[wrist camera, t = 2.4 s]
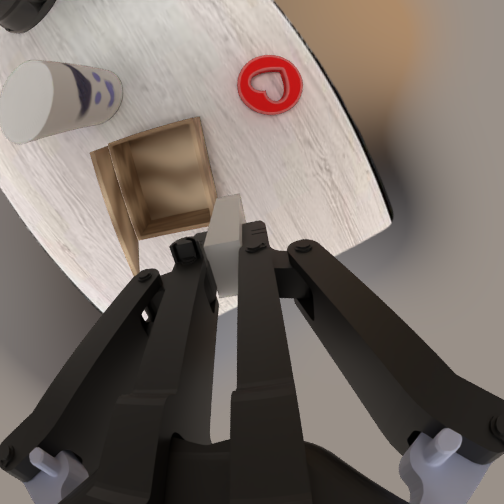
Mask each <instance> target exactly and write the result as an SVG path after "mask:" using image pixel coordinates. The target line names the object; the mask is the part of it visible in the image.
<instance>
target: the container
mask: <svg viewBox="0 0 504 504" xmlns="http://www.w3.org/2000/svg"><path fill="white" fill-rule="evenodd" d="M122 94H123V90H122V84H121V81H120V79H119V78H118V76H117V75H116V74H114V73H113V72H111V71H109V70H104V69H99V68H93V67H88V66H82V65H75V64H68V63H61V62H52V61H42V60H29V61H26V62H24V63H22V64H21V65H19V66H18V67H17V68H16V69H15V70H14V71H13V72H12V73H11V74H10V76H9V77H8V79H7V80H6V82H5V84H4V86H3V89H2V92H1V95H0V127H1V130H2V132H3V134H4V136H5V137H6V138H7V139H8V140H9V141H10V142H12V143H14V144H25V143H28V142H31V141H34V140H38V139H41V138H44V137H48V136H51V135H55V134H59V133H62V132H66V131H70V130H75V129H79V128H83V127H88V126H93V125H97V124H101V123H104V122H106V121H107V120H109V119H110V118H111V117H112V116H113V115H114V114H115V113H116V111H117V110H118V108H119V106H120V103H121V100H122Z"/></svg>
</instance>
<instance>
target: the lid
mask: <svg viewBox="0 0 504 504" xmlns="http://www.w3.org/2000/svg"><path fill="white" fill-rule="evenodd" d="M90 155H91V159H92V163H93V166H94V169H95V173H96V176H97V179H98V183H99V186H100V189H101V192H102V195H103V198H104V201H105V204H106V207H107V210H108V213H109V215H110V218H111V221H112V224H113V226H114V229H115V232H116V234H117V237H118V239H119V242H120V244H121V247H122V249H123V252H124V254H125V257H126V259H127V262H128V264H129V266H130V269H131V271H132V273H133V275H134V276H135V275H137V274H138V273H140V269H139V246H138V239H137V236H136V234H135V231H134V228H133V225H132V223H131V220H130V217H129V214H128V211H127V208H126V205H125V202H124V199H123V196H122V193H121V190H120V186H119V183H118V180H117V176H116V173H115V170H114V166H113V163H112V159H111V155H110V152H109V148H108V146H106V147H104V148H101V149H98V150H95V151H93V152H90Z"/></svg>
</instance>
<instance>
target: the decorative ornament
mask: <svg viewBox="0 0 504 504" xmlns="http://www.w3.org/2000/svg"><path fill="white" fill-rule="evenodd" d="M265 72H280V74H281V77H282V81H283V85H284V94H283V96H282V98H281V99H280V100H279V101H272V100H270V99H269V97H268V96H267V94H266V90H265V91H258V90H255V89H254V88H253V87H252V86H251V79H252V78H253V77H254V76H256V75H258V74H261V73H265ZM237 86H238V93H239V96H240V98H241V99H242V101H243V102H244V103H245V104H246V105H247V106H248V107H249V108H250V109H252V110H254V111H256V112H258V113H262V114H267V115H275V114H280V113H283V112H286V111H288V110H289V109H291V108H292V107H293V106H294V105H295V104H296V103H297V102H298V100H299V98H300V96H301V93H302V88H303V82H302V78H301V75H300V73H299V71H298V70H297V68H296V67H295V66H294V65H293V64H292V63H291V62H290V61H288V60H286V59H284V58H282V57H279V56H275V55H264V56H259V57H256V58H254V59H252V60H250V61H249V62H248V63H247V64H246V65H245V66H244V67H243V68H242V70H241V72H240V74H239V77H238V83H237Z"/></svg>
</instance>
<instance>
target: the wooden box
mask: <svg viewBox="0 0 504 504" xmlns="http://www.w3.org/2000/svg"><path fill="white" fill-rule="evenodd" d="M108 146H109V150H110V153H111V157H112V161H113V164H114V168H115V171H116V175H117V178H118V181H119V185H120V188H121V191H122V194H123V197H124V200H125V203H126V206H127V209H128V212H129V215H130V218H131V221H132V224H133V227H134V230H135V232H136V235H137V238H138V240H143V239H147V238H152V237H157V236H162V235H167V234H171V233H176V232H181V231H186V230H191V229H197V228H202V227H207V226H209V224H210V220H211V216H212V213H213V209H214V205H215V202H216V198H217V194H216V189H215V185H214V180H213V176H212V171H211V167H210V163H209V158H208V153H207V149H206V144H205V140H204V135H203V130H202V126H201V121H200V117H194V118H190V119H186V120H182V121H178V122H174V123H171V124H167V125H164V126H160V127H157V128H153V129H150V130H147V131H144V132H140V133H137V134H134V135H131V136H128V137H126V138H123V139H120V140H117V141H114V142H112V143H109V144H108Z"/></svg>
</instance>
